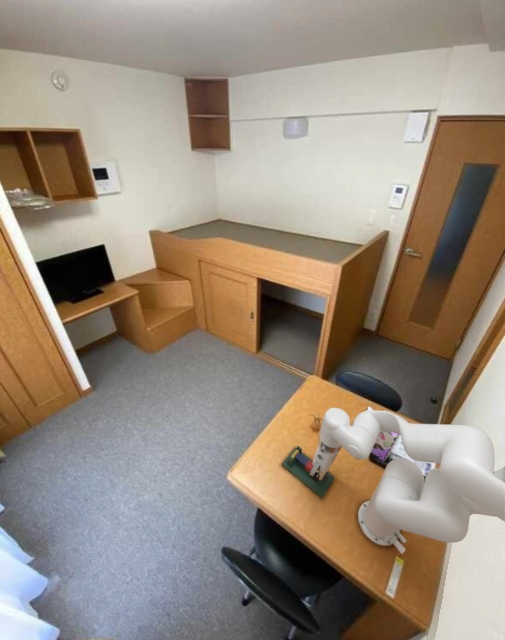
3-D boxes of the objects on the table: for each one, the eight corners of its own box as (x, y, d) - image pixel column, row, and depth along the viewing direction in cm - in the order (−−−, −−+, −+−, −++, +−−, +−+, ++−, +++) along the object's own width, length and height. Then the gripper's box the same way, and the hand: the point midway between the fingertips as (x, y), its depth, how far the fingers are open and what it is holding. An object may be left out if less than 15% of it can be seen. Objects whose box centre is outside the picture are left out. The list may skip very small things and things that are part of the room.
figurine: (326, 428, 121) (331, 410, 115) (322, 439, 117) (326, 421, 110) (308, 419, 125) (312, 401, 118) (303, 430, 120) (307, 412, 114)
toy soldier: (329, 477, 101) (330, 473, 99) (323, 486, 99) (324, 481, 97) (296, 452, 109) (296, 447, 107) (289, 459, 107) (290, 454, 105)
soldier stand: (334, 479, 103) (336, 471, 100) (321, 498, 98) (323, 490, 95) (295, 448, 113) (296, 440, 110) (281, 465, 108) (282, 456, 105)
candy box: (352, 438, 117) (361, 413, 108) (359, 430, 121) (369, 405, 111) (383, 462, 109) (396, 437, 100) (390, 453, 112) (403, 428, 103)
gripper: (326, 468, 81) (317, 495, 91) (353, 429, 92) (342, 458, 102) (305, 451, 85) (298, 479, 95) (333, 416, 96) (324, 444, 106)
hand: (321, 468), depth 98 cm, fingers open, 9 cm apart
